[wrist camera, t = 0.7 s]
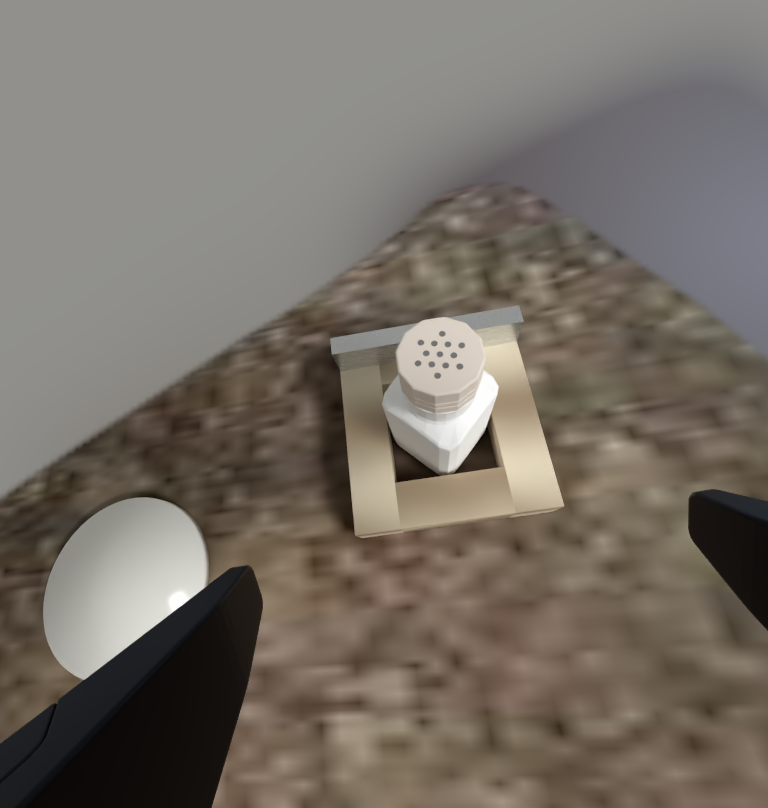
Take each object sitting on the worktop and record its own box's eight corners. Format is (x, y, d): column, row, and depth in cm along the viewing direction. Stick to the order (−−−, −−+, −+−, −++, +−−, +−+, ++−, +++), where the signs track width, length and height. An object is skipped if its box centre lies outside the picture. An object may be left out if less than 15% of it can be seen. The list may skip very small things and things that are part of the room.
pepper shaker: (489, 427, 23) (520, 341, 14) (447, 483, 22) (454, 429, 13) (431, 389, 24) (427, 289, 15) (390, 441, 23) (361, 366, 14)
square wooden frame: (553, 511, 21) (577, 499, 17) (362, 538, 21) (346, 532, 18) (506, 344, 25) (518, 305, 21) (346, 371, 25) (330, 338, 22)
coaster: (141, 718, 20) (132, 722, 19) (20, 623, 22) (9, 625, 21) (240, 541, 22) (235, 541, 22) (122, 474, 25) (115, 472, 24)
